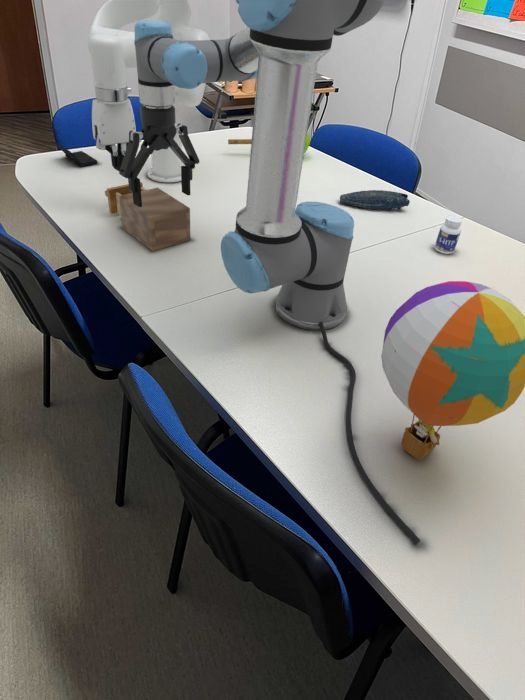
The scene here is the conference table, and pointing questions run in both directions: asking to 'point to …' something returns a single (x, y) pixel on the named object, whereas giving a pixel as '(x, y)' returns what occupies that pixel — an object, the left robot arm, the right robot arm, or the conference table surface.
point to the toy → (453, 358)
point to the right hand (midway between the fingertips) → (162, 199)
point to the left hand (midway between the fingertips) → (118, 169)
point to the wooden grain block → (156, 219)
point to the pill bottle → (448, 235)
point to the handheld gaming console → (78, 156)
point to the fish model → (376, 199)
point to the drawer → (117, 197)
